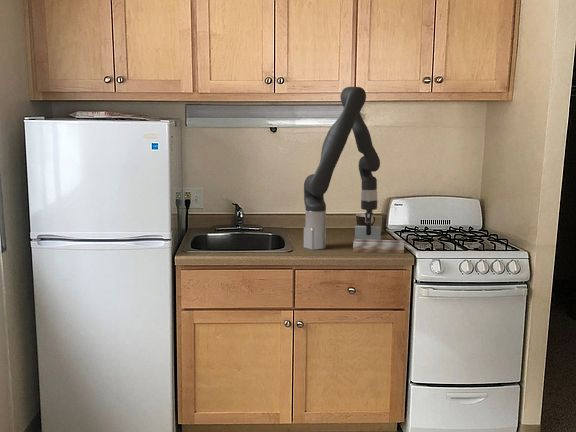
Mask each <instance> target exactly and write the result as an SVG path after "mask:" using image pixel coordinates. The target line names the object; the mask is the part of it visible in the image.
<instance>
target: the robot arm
mask: <svg viewBox="0 0 576 432" xmlns="http://www.w3.org/2000/svg"><path fill="white" fill-rule="evenodd" d="M366 93H367V92H366V91H365V89H364V88H362V87H360V86H347V87H344V88H343V89H342V91H341V93H340V96H339V97H340V102H341V104H342V106H343V109H342V111H341V113H340V115H339V117H338V118H337V120H336V121H335V122H334V123H333V125H331V126H330V128H329V130H328V131H327V134H326V136H325V138H324V141H323V143H322V148H321V153H320V160H319V164H318V166H317V168H316V170H315V172H314V173H313V174H309V175H308V176H306V178H305V180H304V183H303V198H304V199H303V201H304V206H305V218H304V220H305V226H303V248H304V249H307V250H312V251H313V250H324V249H326V248H327V247H326V246H327V245H326V243H327V242H326V241H327V234H326V233H327V227H326V226H327V205H326V202H325V199H324V197H325V196H324V195H325V193H326V192H327V191H328V189H329V187H330V183H331V180H332V176H333V174H334V171H335V168H336V166H337V164H338V162H339V160H340V158H341V155H342V153H343V151H344V149H345V146H346V144H347V141H348V138H349V136H350V134H351V132H353V136H354V140H355V144H356V147H357V151H358V153H361V155H363V156H361V157H360V159H359V160H358V171H359V176H360V180H361V193H360V208H361V210H362V211H365V212H364V214H365V223H366V235H371V226H373V225H372V224H371V223H373V222H374V218H373V216H374V212H373V211H375V210H377V209H378V190H377V189H378V180H377V178H376V177H375V176H374V175H373V173H374V172H377V171H378V170H379V169H380V168H381V159H380V156H379V155H378V153H377V151H376V149H375V147H374V145H373V142H372V136H371V133H370V131H369V128H368V127H367V125H366V123H365V121H364V119H363V117H362V114H361V111H362V109H363V107H364V104H365V103H366V100H367V94H366ZM367 223H368V224H367Z"/></svg>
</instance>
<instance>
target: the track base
mask: <svg viewBox="0 0 576 432" xmlns="http://www.w3.org/2000/svg"><path fill="white" fill-rule="evenodd" d="M352 243H353V244H352V252H353V253H354V252H355V253H356V252H357V253H379V254H382V253H383V254H405V241H404V240H395V239H394V240H393V239H390V240H389V239H381V240H368V239H355V238H354V239H353V242H352Z"/></svg>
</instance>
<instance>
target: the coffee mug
mask: <svg viewBox="0 0 576 432" xmlns="http://www.w3.org/2000/svg"><path fill="white" fill-rule="evenodd" d="M355 218H356V226H366V223H365V213H357V214H355ZM375 222H376V217H375V216H374V215H373V222H372V223H371V224H372V226H374V224H375ZM367 224H368V223H367Z"/></svg>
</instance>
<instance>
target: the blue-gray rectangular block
mask: <svg viewBox="0 0 576 432" xmlns="http://www.w3.org/2000/svg"><path fill="white" fill-rule="evenodd" d="M381 234H382V226H379V225H378V226H377V225H376V226H374V225H372V226H371V235H366V226H357V225H355V226H354V239H368V240H382V235H381Z"/></svg>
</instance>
